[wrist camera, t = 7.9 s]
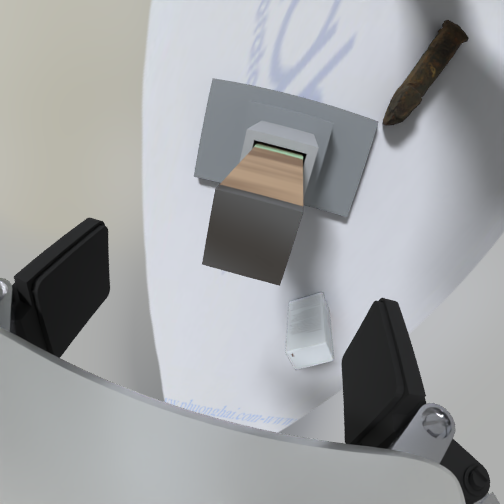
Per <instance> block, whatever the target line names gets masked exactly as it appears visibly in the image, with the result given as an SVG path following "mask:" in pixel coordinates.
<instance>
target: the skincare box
mask: <svg viewBox="0 0 504 504" xmlns="http://www.w3.org/2000/svg"><path fill="white" fill-rule="evenodd" d="M285 353H286V355H287V356H288V358H289V360H290V361H291V363H292V365H293V367H294V368H295V370H298V369H302V368H306V367H310V366H315V365H319V364H323V363H327V362H330V361H333V360H334V356H333V344H332V332H331V322H330V311H329V308H328V305H327V303H326V300H325V297H324V295H323V292H320V293H317V294H314V295H310V296H307V297H304V298H300V299H297V300H294V301H290V302H289V308H288V322H287V335H286V347H285Z"/></svg>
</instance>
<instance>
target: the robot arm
mask: <svg viewBox="0 0 504 504" xmlns="http://www.w3.org/2000/svg"><path fill="white" fill-rule="evenodd" d="M108 257H109V255H108V229H107V227H106V226H105V224H104V222H103V221H99V220H96V219H93V218H87V219H86V220H85V221H83V222H82V223H80V224H79V225H77V226H76V227H75V228H73V229H72V230H71V231H70V232H68V233H67V234H65V235H64V236H63V237H62V238H60V239H59V240H58V241H57V242H55V243H54V244H53V245H51V246H50V247H49V248H47V249H46V250H45V251H44V252H43V253H41V254H40V255H39V256H38V257H36V258H35V259H34V260H33V261H32V262H30V263H29V264H28V265H27V266H26V267H24V268H23V269H22V270H21V271H20V272H18V273H17V274H16V275H15V276H14V279H15V283H14V284H13V285H11V283H10V282H9V281H8V280H6V279H3V278H0V504H500V503H499V502H498V500H497V498H496V497H495V495H494V493H493V492H492V493H490V494H489V493H488V491H489V487H490V478H489V475H488V472H487V470H486V469H485V468H484V467H483V465H481V464H480V463H479V462H478V461H477V460H476V459H475V458H474V457H473V456H471V455H470V454H469V453H468V452H467V451H466V450H465V449H464V448H462V446H460V445H459V444H458V443H457V442H456V441H455V440H454V439H453V436H454V433H455V423H454V420H453V418H452V416H451V415H450V413H449V412H448V411H447V410H446V409H445V408H444V407H442V406H440V405H438V404H435V403H428V404H426V401H425V396H426V395H425V391H424V387H423V383H422V379H421V376H420V372H419V368H418V365H417V361H416V358H415V354H414V351H413V347H412V344H411V341H410V338H409V334H408V331H407V328H406V325H405V322H404V319H403V316H402V313H401V310H400V307H399V304H398V302H396V301H393V300H389V299H385V298H381V299H380V300H379V301H374V303H373V304H372V306H371V308H370V310H369V311H368V313H367V315H366V317H365V319H364V321H363V322H362V324H361V326H360V328H359V330H358V331H357V333H356V335H355V336H354V338H353V340H352V342H351V343H350V345H349V347H348V348H347V350H346V352H345V353H344V355H343V358H342V378H343V395H344V396H343V397H344V421H345V422H344V425H345V443H346V444H343V443H336V442H329V441H323V440H316V439H310V438H304V437H298V436H292V435H287V434H281V433H276V432H272V431H267V430H262V429H258V428H253V427H249V426H245V425H241V424H237V423H233V422H229V421H225V420H221V419H218V418H214V417H210V416H207V415H203V414H200V413H197V412H193V411H190V410H187V409H184V408H181V407H178V406H175V405H171V404H169V403H166V402H163V401H160V400H157V399H154V398H151V397H149V396H146V395H143V394H141V393H138V392H135V391H133V390H130V389H128V388H125V387H123V386H120V385H118V384H115V383H113V382H110V381H108V380H106V379H103V378H101V377H99V376H96V375H94V374H92V373H90V372H88V371H85V370H83V369H81V368H79V367H77V366H75V365H73V364H70V363H68V362H66V361H64V360H62V359H60V357H61V356H62V354H63V353H64V352H65V350H66V349H67V348H68V346H69V345H70V343H71V342H72V341H73V340H74V338H75V337H76V336H77V335H78V333H79V332H80V331H81V329H82V328H83V327H84V325H85V324H86V323H87V321H88V320H89V319H90V318H91V316H92V315H93V314H94V313H95V312H96V310H97V309H98V308H99V306H100V305H101V304H102V303H103V302H104V300H105V299H106V298H107V296H108V294H109V291H110V281H109V258H108Z"/></svg>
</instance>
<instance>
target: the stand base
mask: <svg viewBox="0 0 504 504" xmlns="http://www.w3.org/2000/svg"><path fill="white" fill-rule="evenodd" d="M377 125H378V121H375V120H372V119H369V118H367V117H364V116H361V115H358V114H355V113H352V112H349V111H346V110H343V109H340V108H337V107H333V106H330V105H327V104H323V103H320V102H317V101H313V100H309V99H306V98H302V97H298V96H295V95H291V94H287V93H283V92H278V91H274V90H270V89H265V88H261V87H256V86H251V85H247V84H241V83H236V82H231V81H225V80H219V79H213V80H212V84H211V89H210V94H209V98H208V103H207V108H206V113H205V118H204V123H203V128H202V133H201V139H200V144H199V150H198V155H197V161H196V167H195V173H194V177H198V178H202V179H207V180H211V181H215V182H219V183H221V182H222V181H223V180H224V179H225V178H226V177H227V176H228V175H229V174H230V172H231V171H232V170H233V169H234V168H235V167H236V166H237V165H238V164H239V163H240V162H241V161H242V159H243V158H244V157H245V156H246V155H247V154H248V153H249V152H250V151H251V150H252V149H253V148H254V146H255V145H256V144H257V143H258V142H259V141H260V142H264V143H268V144H272V145H276V146H280V147H284V148H287V149H291V150H295V151H298V152H302V153H303V205H306V206H310V207H313V208H317V209H320V210H324V211H327V212H330V213H334V214H337V215H340V216H344V217H347V216H348V213H349V211H350V208H351V205H352V202H353V199H354V196H355V193H356V191H357V188H358V185H359V182H360V179H361V176H362V173H363V170H364V167H365V164H366V161H367V157H368V154H369V151H370V148H371V145H372V142H373V138H374V135H375V132H376V129H377Z"/></svg>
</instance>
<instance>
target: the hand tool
mask: <svg viewBox="0 0 504 504" xmlns="http://www.w3.org/2000/svg"><path fill="white" fill-rule="evenodd" d="M467 41H468V36H467V35H466V33H465V32H464V31H463V30H462V29H461V27H460V26H458V25H457V24H454V23H453V22H451V21H449V20H446V21H444V23H443V24H442V29H440V30H439V31H438V35H437V36H436V37H435V39H434V40H433V41H432V43H431V44H430V45H429V47H428V50H427V51H426V52H425V53H424V54H423V56H422V57H421V59H420V60H419V62H418V63H417V64H416V66H415V67H414V69H413V70H412V71H411V73H410V74H409V76H408V77H407V78H406V80H405V81H404V82H403V84H402V85H401V86H400V87H399V88H398V89H397V91H396V92H395V94H394V96H393V97H392V99H391V101H390V104H389V106H388V108H387V111H386V113H385V116H384V119H383V124H384V125H395V124H398V123H400V122H403V121H404V120H405V119H406V118H407V117H408V116H409V115H410V113H411V112H412V111H413V110H414V109H415V108H416V107H417V106H418V105H419V104H420V102H421V100H422V97H423V96H424V94H425V93H426V91H427V90H428V88H429V87H430V86H431V85H432V84H433V82H434V81H435V79H436V78H437V77H438V76H439V74H440V73H441V72H442V70H443V69H444V68H445V66H446V65H447V64H448V62H449V61H450V59H451V58H452V57H453V55H454V54H455V52H456V51H457V49H458V48H459V47H460V45H461V44H462V43H463V42H467Z"/></svg>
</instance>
